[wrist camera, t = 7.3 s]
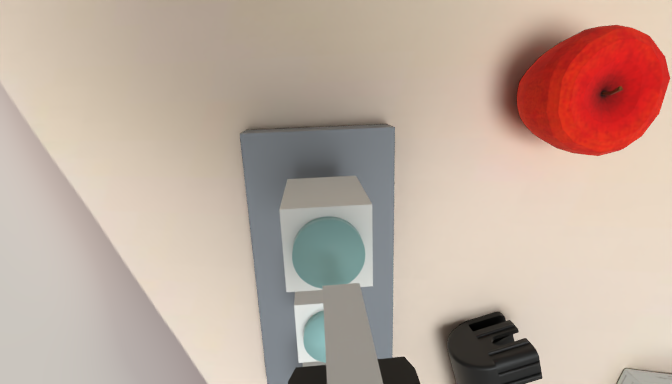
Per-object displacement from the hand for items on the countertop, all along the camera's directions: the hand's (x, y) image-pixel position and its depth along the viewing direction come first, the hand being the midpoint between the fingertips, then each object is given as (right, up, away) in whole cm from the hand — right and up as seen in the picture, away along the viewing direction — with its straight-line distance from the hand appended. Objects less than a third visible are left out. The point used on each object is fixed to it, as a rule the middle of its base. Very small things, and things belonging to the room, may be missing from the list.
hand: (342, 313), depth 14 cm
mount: (-1, -2, +19) cm, 19 cm away
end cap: (+15, -13, +23) cm, 31 cm away
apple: (+18, +14, +16) cm, 28 cm away
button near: (-1, +4, +10) cm, 10 cm away
